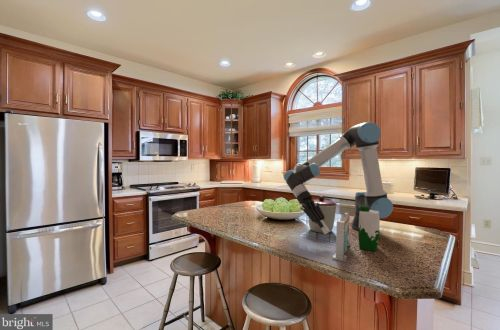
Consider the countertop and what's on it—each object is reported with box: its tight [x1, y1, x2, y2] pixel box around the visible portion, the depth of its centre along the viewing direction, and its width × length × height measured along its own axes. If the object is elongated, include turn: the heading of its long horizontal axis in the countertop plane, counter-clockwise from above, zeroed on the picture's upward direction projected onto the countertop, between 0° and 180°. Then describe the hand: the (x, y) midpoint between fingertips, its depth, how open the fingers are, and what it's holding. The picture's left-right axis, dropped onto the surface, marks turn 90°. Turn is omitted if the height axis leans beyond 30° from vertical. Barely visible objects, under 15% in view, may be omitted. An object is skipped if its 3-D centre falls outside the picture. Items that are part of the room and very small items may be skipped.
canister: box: [307, 195, 338, 234], centre depth 151 cm, size 18×18×21 cm
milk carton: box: [358, 206, 381, 252], centre depth 122 cm, size 9×9×20 cm
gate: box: [340, 216, 348, 232], centre depth 117 cm, size 16×2×13 cm, turn 151°
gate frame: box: [332, 212, 351, 263], centre depth 117 cm, size 25×5×16 cm, turn 152°
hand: (327, 232), depth 124 cm, fingers closed
